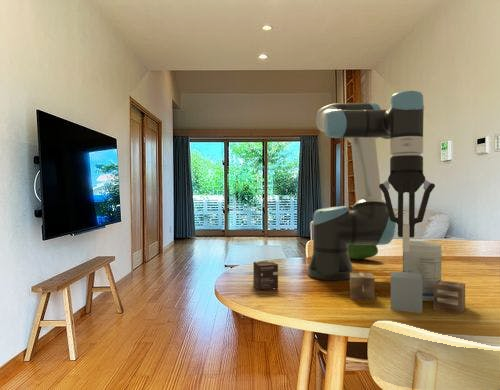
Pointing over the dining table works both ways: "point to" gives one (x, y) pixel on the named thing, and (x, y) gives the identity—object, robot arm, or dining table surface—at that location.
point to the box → (265, 275)
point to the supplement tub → (424, 264)
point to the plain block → (406, 291)
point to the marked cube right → (449, 296)
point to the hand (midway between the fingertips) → (405, 250)
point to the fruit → (362, 251)
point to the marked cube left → (362, 286)
